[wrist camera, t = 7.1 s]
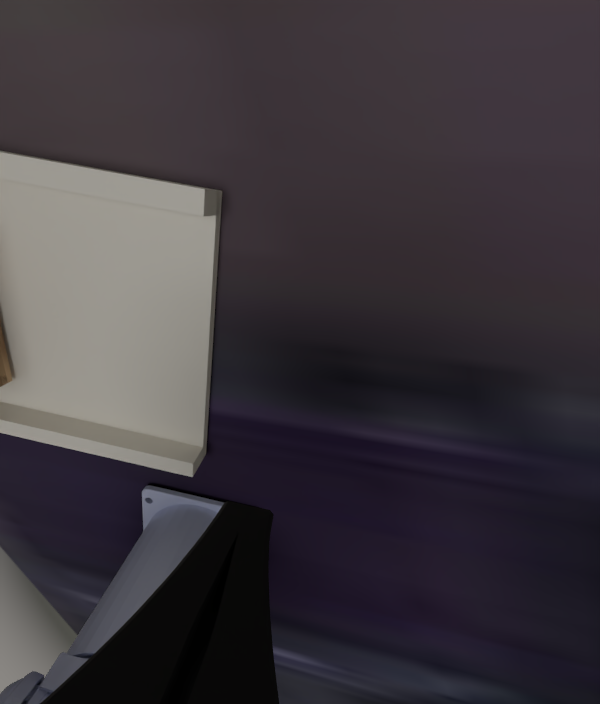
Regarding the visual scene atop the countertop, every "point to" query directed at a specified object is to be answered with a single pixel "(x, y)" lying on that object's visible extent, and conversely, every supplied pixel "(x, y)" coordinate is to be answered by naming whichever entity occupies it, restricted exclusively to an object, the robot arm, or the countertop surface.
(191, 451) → the tray
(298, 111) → the countertop surface
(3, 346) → the crate
